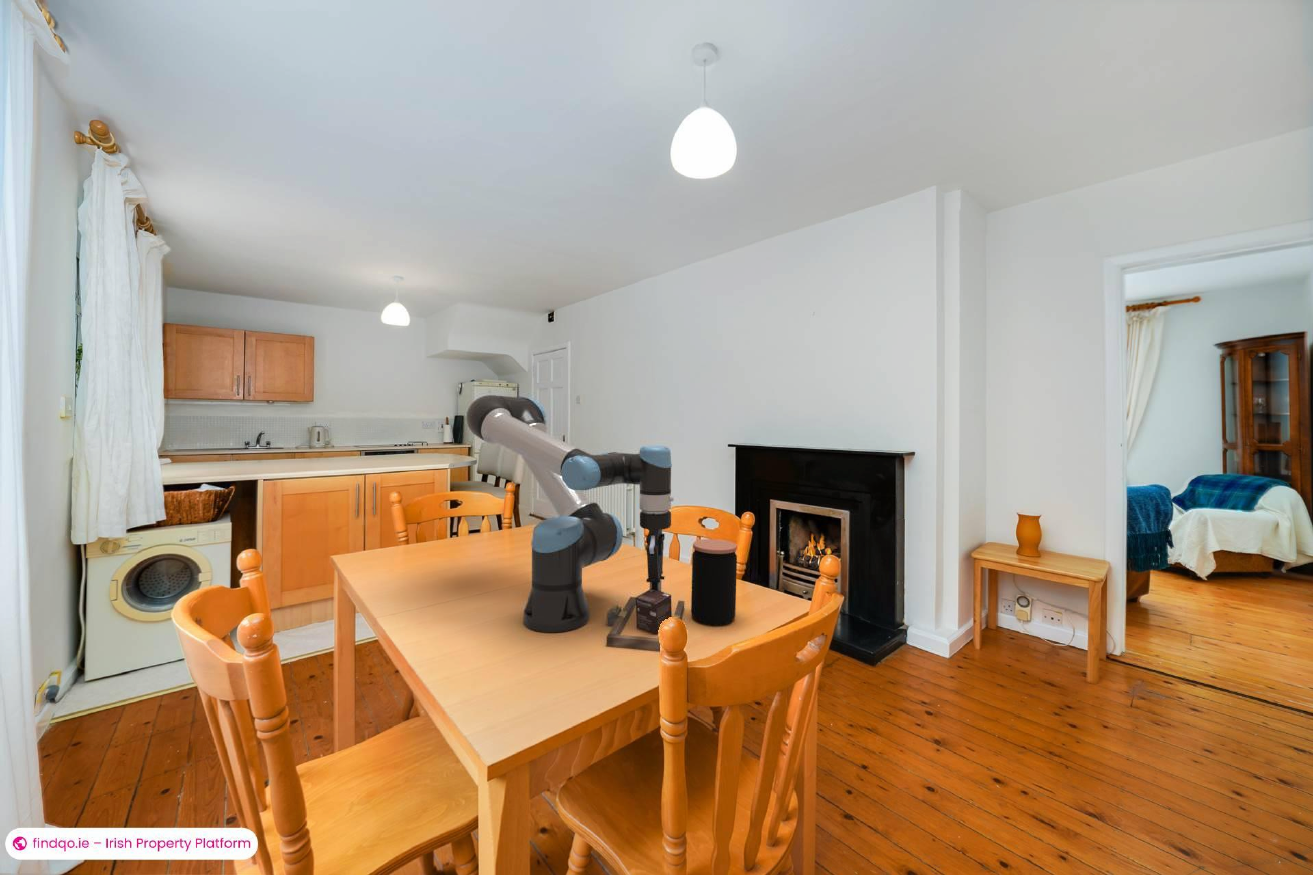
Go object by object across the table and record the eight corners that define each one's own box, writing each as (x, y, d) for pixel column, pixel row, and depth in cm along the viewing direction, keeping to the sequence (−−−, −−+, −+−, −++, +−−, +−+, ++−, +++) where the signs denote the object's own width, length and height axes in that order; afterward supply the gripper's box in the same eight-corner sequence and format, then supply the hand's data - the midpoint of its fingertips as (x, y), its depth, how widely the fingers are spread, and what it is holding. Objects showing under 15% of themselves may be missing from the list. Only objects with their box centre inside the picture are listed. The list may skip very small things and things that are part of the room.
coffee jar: (740, 614, 123) (742, 542, 122) (727, 630, 113) (730, 552, 113) (699, 606, 127) (701, 537, 127) (684, 621, 118) (686, 546, 117)
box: (635, 627, 114) (634, 597, 113) (652, 617, 118) (651, 587, 118) (656, 635, 110) (655, 603, 109) (672, 624, 115) (671, 593, 114)
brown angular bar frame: (594, 644, 104) (595, 627, 104) (620, 603, 128) (620, 589, 128) (672, 652, 102) (673, 633, 102) (684, 608, 126) (684, 593, 125)
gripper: (667, 516, 112) (667, 619, 113) (674, 506, 124) (674, 598, 126) (634, 515, 113) (635, 617, 114) (644, 505, 125) (644, 596, 127)
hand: (655, 607), depth 120 cm, fingers closed
